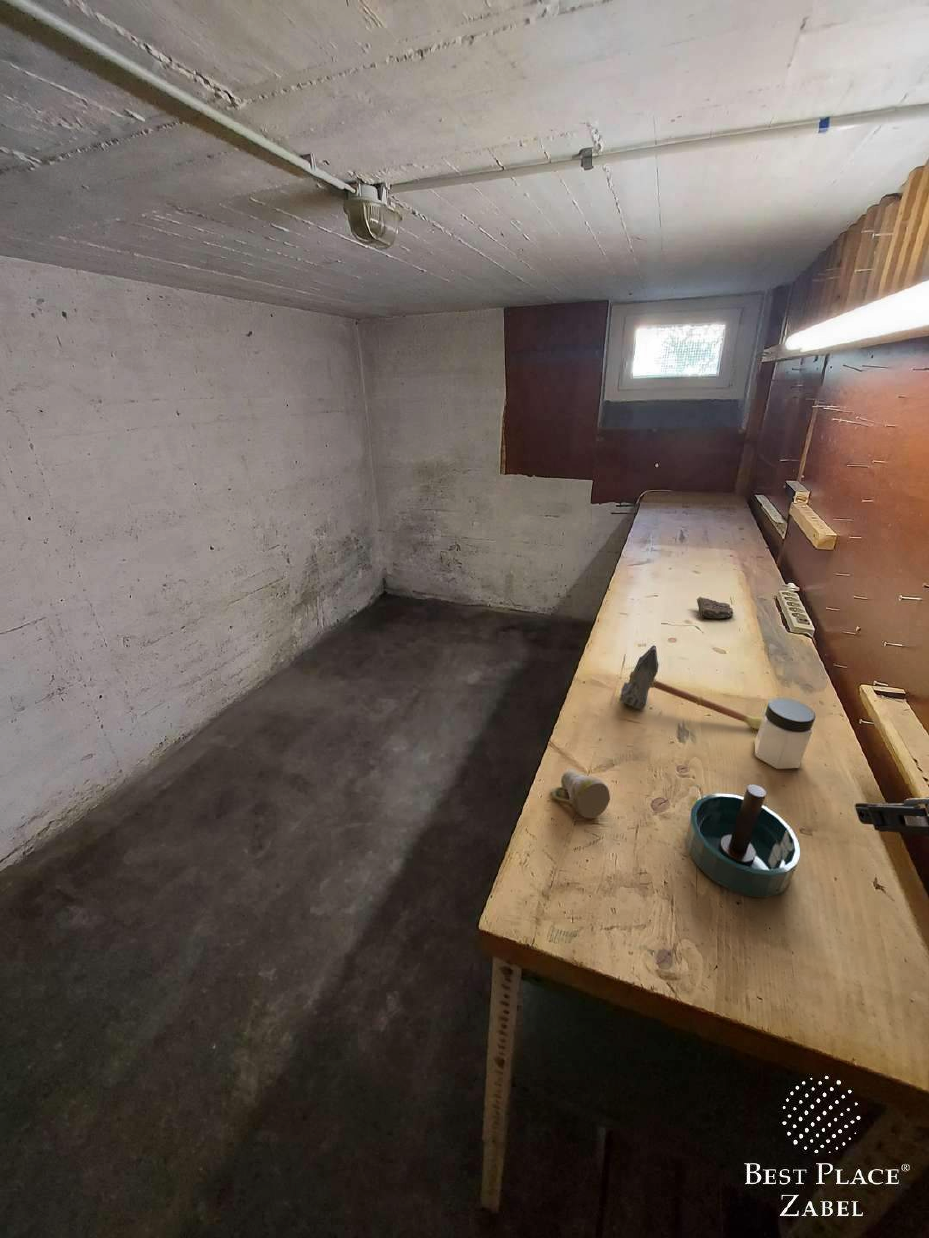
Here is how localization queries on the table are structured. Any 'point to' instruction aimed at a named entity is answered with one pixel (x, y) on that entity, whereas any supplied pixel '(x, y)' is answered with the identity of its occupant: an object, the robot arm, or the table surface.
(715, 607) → the concrete sample
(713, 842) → the bowl
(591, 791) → the mug
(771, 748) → the jar
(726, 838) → the brown flanged rod
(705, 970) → the table surface
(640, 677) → the hammer
